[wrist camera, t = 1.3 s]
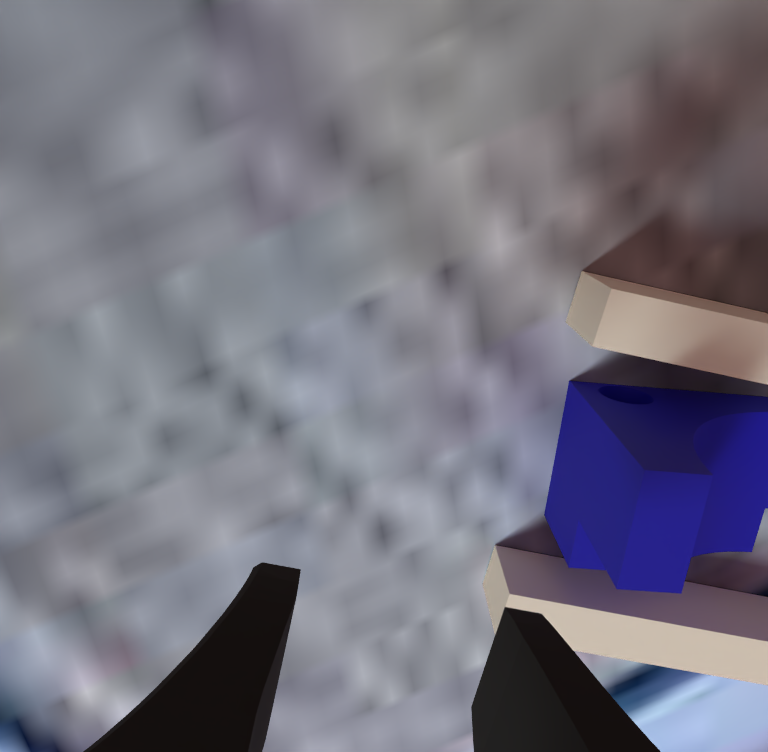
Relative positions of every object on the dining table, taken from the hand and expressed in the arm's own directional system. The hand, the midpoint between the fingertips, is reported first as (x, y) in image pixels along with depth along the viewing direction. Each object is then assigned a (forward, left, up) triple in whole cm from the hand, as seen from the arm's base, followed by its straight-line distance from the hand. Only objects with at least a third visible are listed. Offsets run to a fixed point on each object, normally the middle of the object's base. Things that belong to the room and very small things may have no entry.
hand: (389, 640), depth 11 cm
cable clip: (+1, -11, -10) cm, 15 cm away
